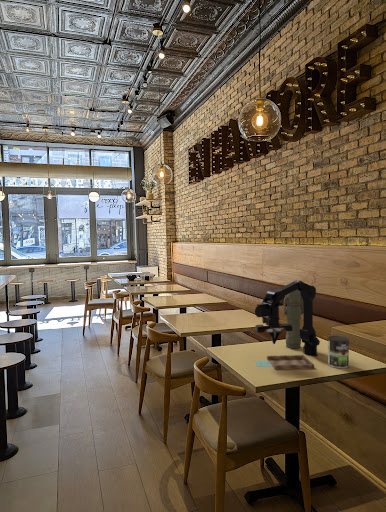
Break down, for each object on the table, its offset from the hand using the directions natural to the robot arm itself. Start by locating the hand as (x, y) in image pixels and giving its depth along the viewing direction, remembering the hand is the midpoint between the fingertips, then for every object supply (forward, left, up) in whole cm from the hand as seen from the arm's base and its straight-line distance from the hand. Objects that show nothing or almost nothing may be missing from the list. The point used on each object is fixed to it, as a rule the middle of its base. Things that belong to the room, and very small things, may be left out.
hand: (273, 343), depth 200 cm
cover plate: (+7, +4, -11) cm, 13 cm away
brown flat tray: (-7, +4, -10) cm, 13 cm away
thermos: (-19, -27, -10) cm, 35 cm away
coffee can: (-32, +6, -10) cm, 34 cm away
